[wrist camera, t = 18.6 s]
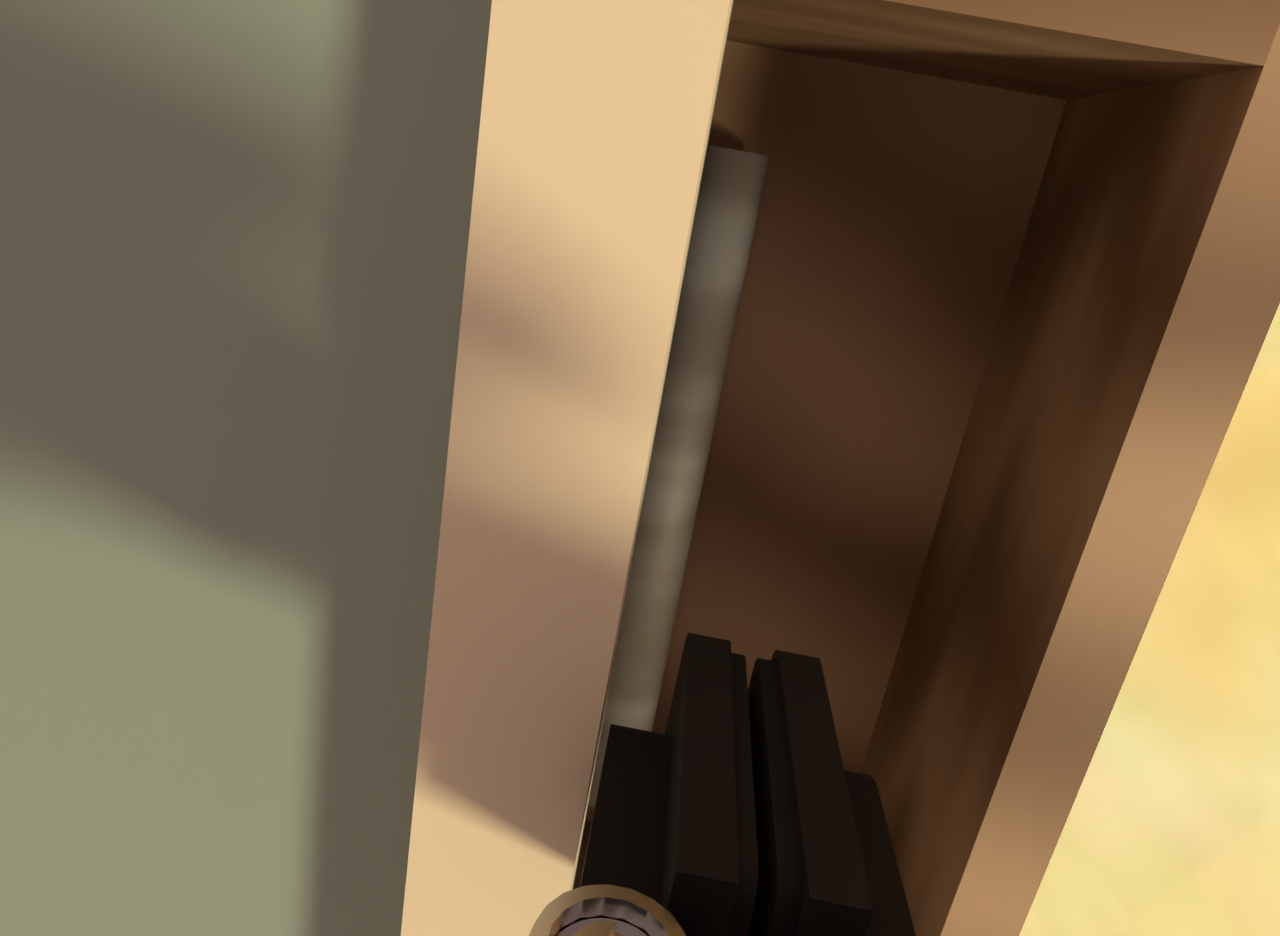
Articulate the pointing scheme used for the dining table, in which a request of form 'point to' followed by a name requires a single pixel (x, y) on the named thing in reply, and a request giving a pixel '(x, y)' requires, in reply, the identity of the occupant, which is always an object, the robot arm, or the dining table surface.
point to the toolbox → (956, 389)
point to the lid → (325, 446)
